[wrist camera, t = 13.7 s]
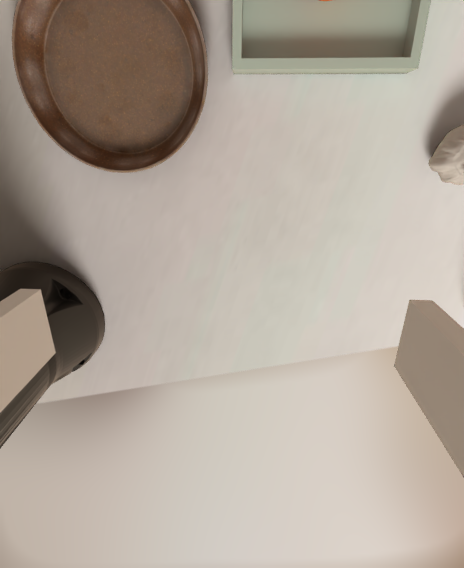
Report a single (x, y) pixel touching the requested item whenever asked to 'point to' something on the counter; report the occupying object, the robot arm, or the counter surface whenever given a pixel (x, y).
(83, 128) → the plant saucer
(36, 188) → the counter surface
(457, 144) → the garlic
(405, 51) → the tray
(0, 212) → the counter surface
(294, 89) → the counter surface
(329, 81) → the counter surface
